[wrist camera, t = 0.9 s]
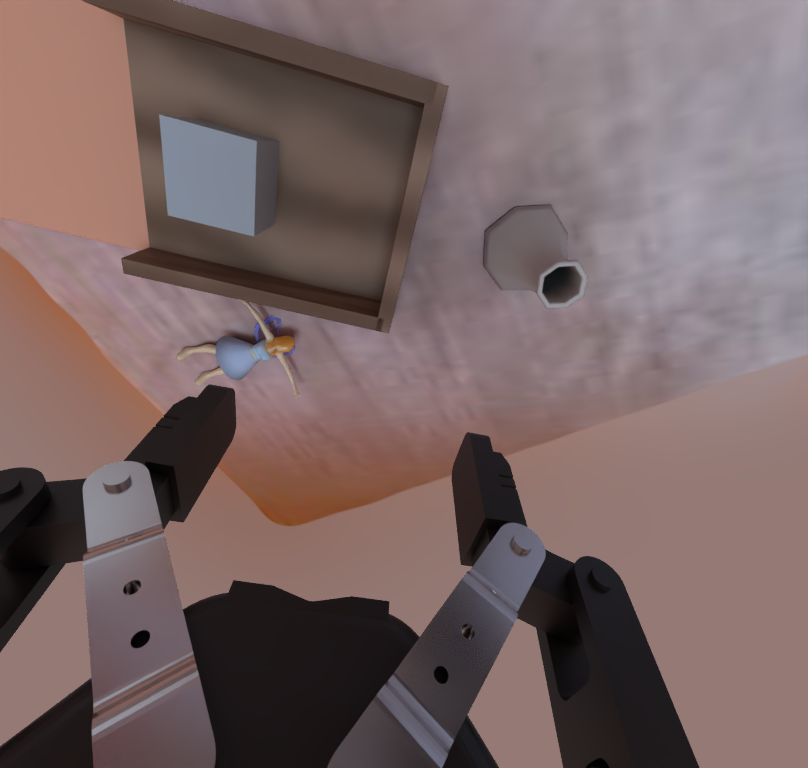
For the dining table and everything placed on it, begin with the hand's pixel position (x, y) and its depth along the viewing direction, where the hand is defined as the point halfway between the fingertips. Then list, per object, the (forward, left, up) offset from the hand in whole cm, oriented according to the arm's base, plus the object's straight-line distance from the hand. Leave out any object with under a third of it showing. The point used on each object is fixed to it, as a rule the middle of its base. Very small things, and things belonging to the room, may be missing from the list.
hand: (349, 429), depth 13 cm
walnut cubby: (-3, -10, -24) cm, 26 cm away
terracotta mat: (-3, -28, -24) cm, 37 cm away
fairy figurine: (+12, -12, -24) cm, 30 cm away
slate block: (-3, -13, -24) cm, 27 cm away
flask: (-3, +11, -24) cm, 27 cm away
